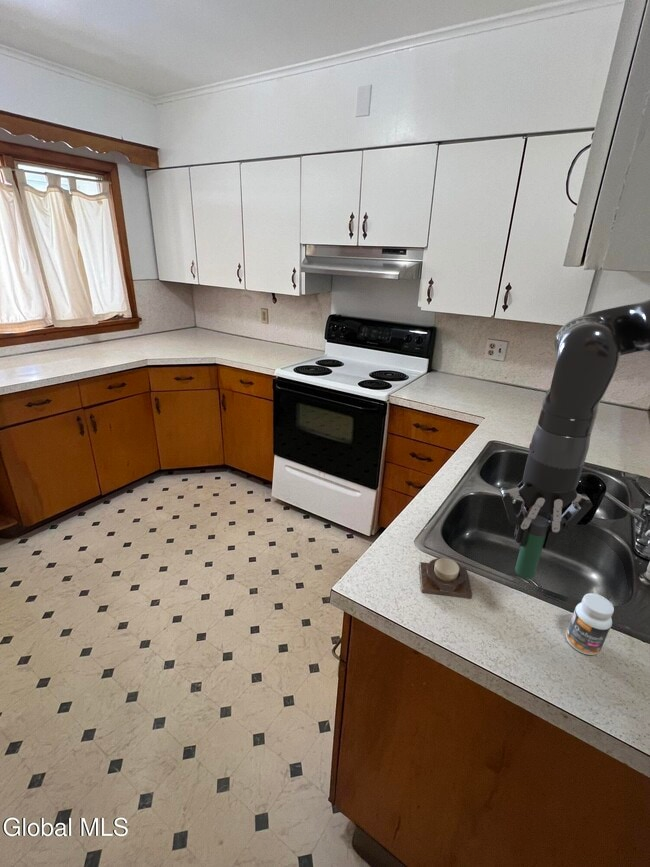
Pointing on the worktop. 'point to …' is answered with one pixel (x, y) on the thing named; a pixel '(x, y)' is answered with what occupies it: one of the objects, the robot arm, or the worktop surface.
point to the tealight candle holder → (444, 582)
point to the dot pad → (446, 569)
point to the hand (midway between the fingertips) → (532, 544)
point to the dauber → (532, 548)
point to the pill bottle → (590, 624)
